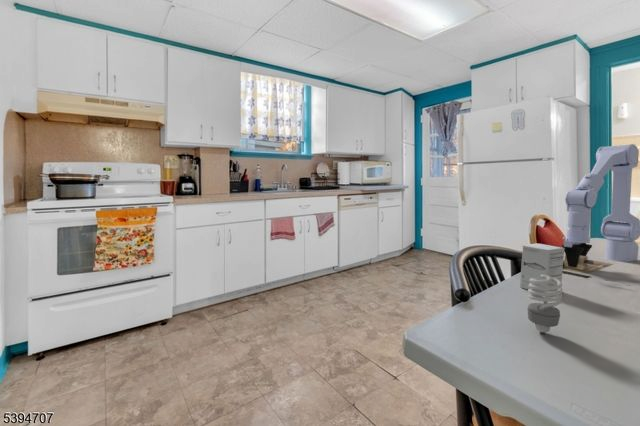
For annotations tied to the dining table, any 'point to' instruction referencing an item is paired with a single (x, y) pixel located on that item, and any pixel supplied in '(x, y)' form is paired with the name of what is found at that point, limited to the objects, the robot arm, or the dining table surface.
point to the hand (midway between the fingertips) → (575, 265)
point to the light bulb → (544, 312)
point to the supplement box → (541, 263)
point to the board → (589, 269)
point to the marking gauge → (579, 263)
